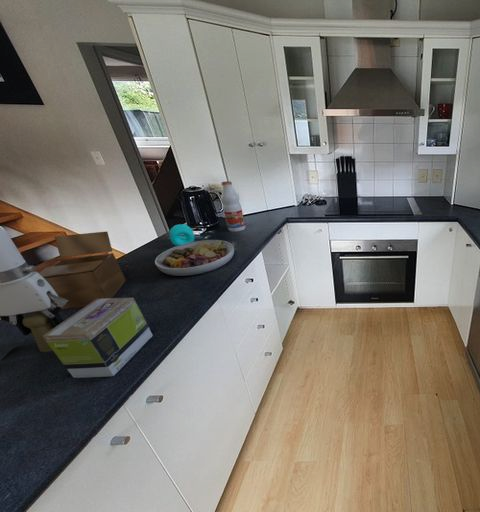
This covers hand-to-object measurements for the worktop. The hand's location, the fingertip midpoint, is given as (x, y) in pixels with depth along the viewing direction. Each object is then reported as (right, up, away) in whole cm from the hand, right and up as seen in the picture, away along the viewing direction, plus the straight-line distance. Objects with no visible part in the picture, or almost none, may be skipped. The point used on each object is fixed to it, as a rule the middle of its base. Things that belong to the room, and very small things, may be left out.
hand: (44, 328), depth 76 cm
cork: (0, -5, +3) cm, 6 cm away
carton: (-13, +6, +25) cm, 29 cm away
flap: (-16, +25, +25) cm, 39 cm away
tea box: (+21, -8, -1) cm, 22 cm away
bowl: (+10, +17, +49) cm, 53 cm away
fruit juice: (+7, +36, +87) cm, 95 cm away
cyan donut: (-9, +26, +66) cm, 72 cm away
